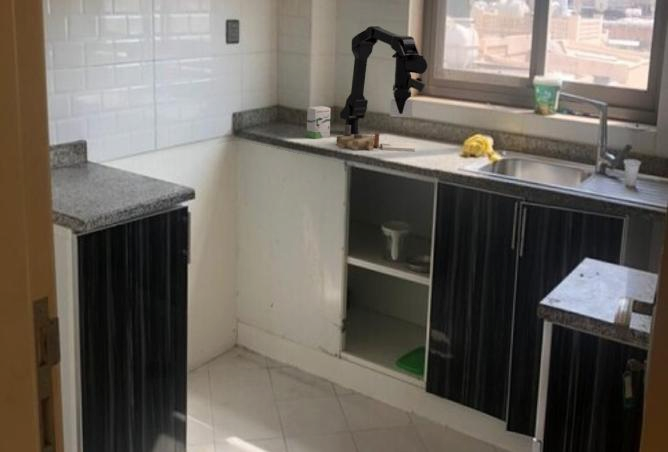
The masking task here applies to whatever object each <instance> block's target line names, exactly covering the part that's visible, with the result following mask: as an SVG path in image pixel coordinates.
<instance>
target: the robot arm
mask: <svg viewBox="0 0 668 452" xmlns="http://www.w3.org/2000/svg"><path fill="white" fill-rule="evenodd" d="M378 41H380V42H382V43H385V44H387V45H389V46H390V48H391V49H392V50H393V51H394V53H393V54H392V58H394V59H395V67H394V68H395V69H394V83H393V85H392V91H393V92H392V93H393V97H394V98H393V99H395V101H396V104H397V108H398V111H399V114H402V113H403V109H404V106H405V102H406V100H409V98H412V90H411V89H414V90H417V91H418V92H420V93H422V92H423V91H424V88H425V86H426V83H425V82H423V79H422V78H421V77H419V76H418V77H416V78H414V77H412V74H419V75H423V74H424V73H425V72H426V71H427V69H428V62H427V60H426V59H425V58H424V54H420V52H419V51H420V50H419V48H418V46H417V44H416V41H415V38H414V37H413V36H409V35H402V34H401V35H399V34H396V33H394V32H391V31H389V30H386V29H384V28H381V26H378V25H374V26H373V25H371V26H368V27H367V28H366V29H364V30H363V31H360V32H358V33H357V34H356V35H354V36H353V37H352V39H351V52H352V54H353V56H354V61H353V62H354V64H353V70H352V71H353V73H352V80H351V82H352V83H351V90H350V94H349V96H348V97H347V98H346V101H345V104H344V105H345V106H344V107H343V109H342V110H341V111H340V113H339V115H340V116H339V117H340V119H342V120H344V126H345V125H351V134H361V133H360V130H359V129H360V127H359V126H360V119H361V120H362V119H364V118H365V116H366V115H365V114H366V112H367V110H368V103H369V102H368V99H366V98H365V96H364V91H365V83H366V73H367V65H368V59H369V57H370V56H371V54H372V53H373V48H374V45H376V44H377V43H378ZM411 73H412V74H411ZM344 131H345V129H343V133H342V135H343V134H344Z"/></svg>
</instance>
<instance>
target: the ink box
mask: <svg viewBox="0 0 668 452" xmlns="http://www.w3.org/2000/svg"><path fill="white" fill-rule="evenodd" d="M306 115H307V116H306V138H310V139H314V140H315V139H323V138H330V136H331V135H330V134H331V133H330V132H331V107H328V106H324V105H319V106H308V107H307V114H306Z"/></svg>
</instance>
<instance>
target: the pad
mask: <svg viewBox="0 0 668 452" xmlns="http://www.w3.org/2000/svg"><path fill="white" fill-rule="evenodd" d="M381 146H382V150H383V151H399V152H401V151H402V152H415V150H416V149H415V143H414V142H403V141H402V142H401V141H385V140H384V141H383V140H382V145H381Z"/></svg>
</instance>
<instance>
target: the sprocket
mask: <svg viewBox="0 0 668 452" xmlns="http://www.w3.org/2000/svg"><path fill="white" fill-rule="evenodd" d="M344 130H345V131H344ZM344 130H343V132H344V134H343V133H342V135H337V136H336V143H335V145H337V146H338V148H341V149H344V148H346V149H351V150H353V151H354V150H356V151H358V150H373V149H374V148H379V146H380V133H379V132H377V133H376V132H375V133H374V135H373V134H372V135H367V134H363V133H359V134H351V125H345V124H344Z"/></svg>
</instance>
